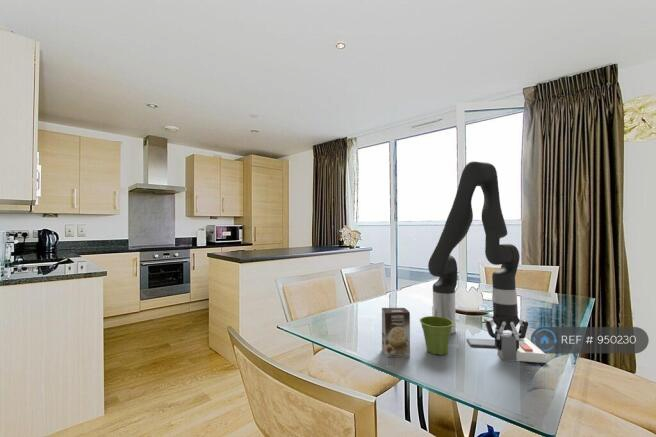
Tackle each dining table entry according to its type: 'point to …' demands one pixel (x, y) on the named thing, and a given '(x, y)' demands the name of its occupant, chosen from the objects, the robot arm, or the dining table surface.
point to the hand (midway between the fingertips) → (507, 349)
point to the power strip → (529, 352)
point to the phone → (481, 343)
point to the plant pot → (436, 333)
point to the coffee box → (396, 332)
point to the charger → (507, 347)
